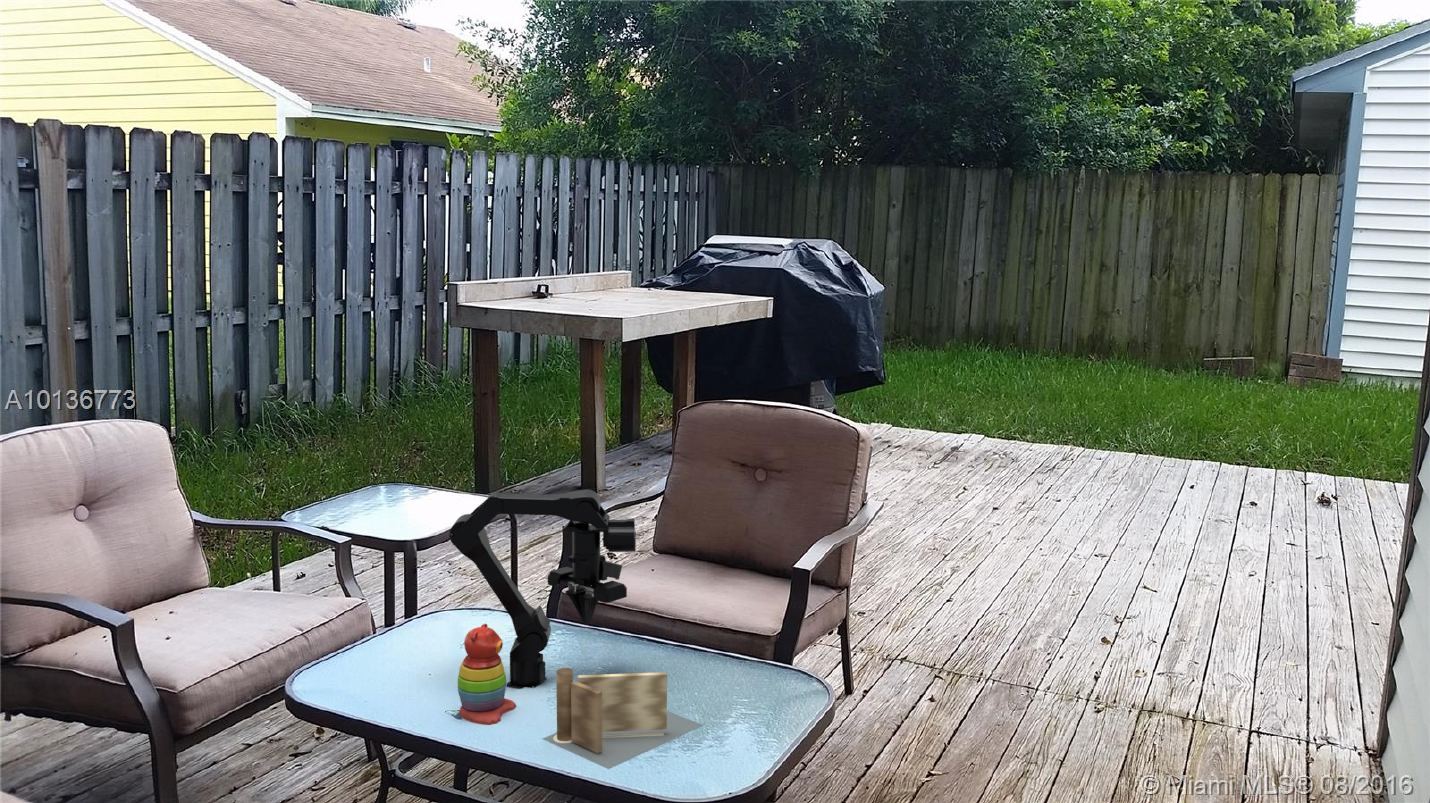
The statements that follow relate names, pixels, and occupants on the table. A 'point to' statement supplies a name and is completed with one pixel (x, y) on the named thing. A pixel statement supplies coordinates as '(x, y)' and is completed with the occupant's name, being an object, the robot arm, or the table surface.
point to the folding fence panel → (631, 700)
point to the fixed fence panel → (578, 712)
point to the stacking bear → (483, 678)
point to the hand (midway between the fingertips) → (586, 623)
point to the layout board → (629, 742)
